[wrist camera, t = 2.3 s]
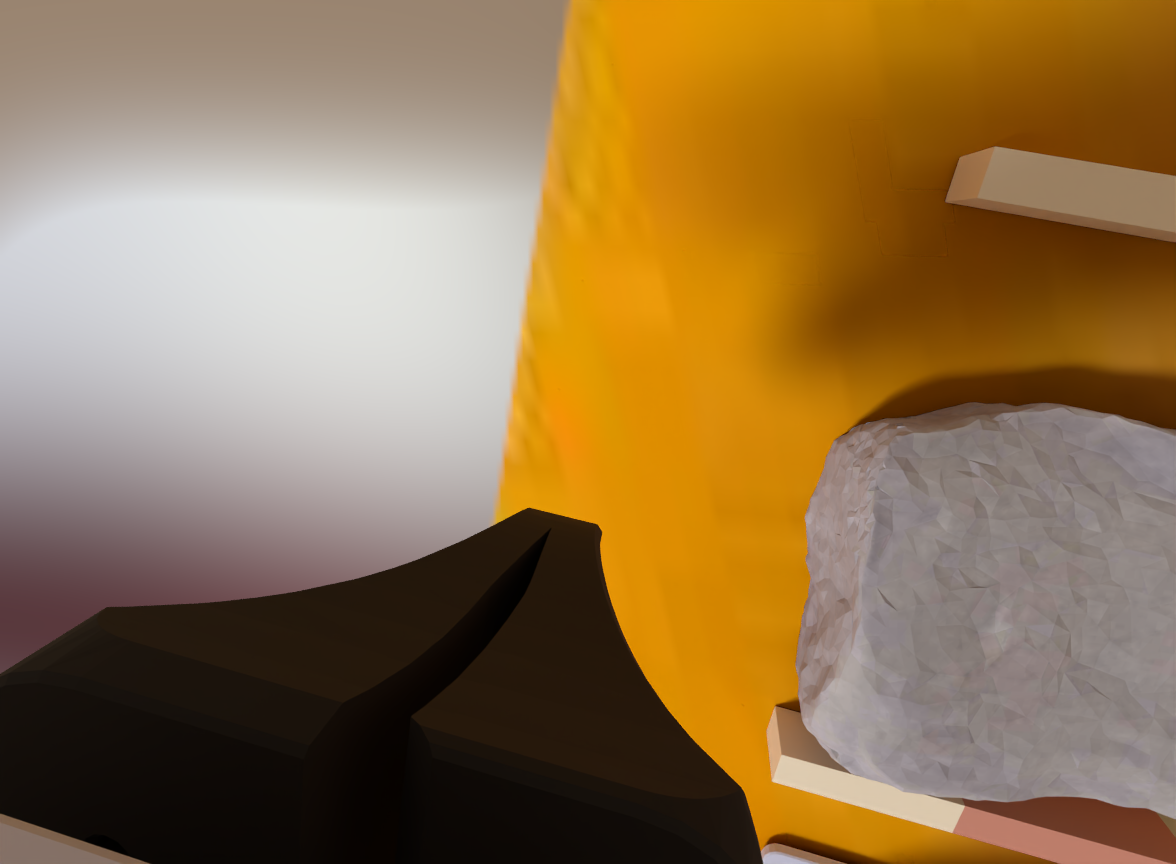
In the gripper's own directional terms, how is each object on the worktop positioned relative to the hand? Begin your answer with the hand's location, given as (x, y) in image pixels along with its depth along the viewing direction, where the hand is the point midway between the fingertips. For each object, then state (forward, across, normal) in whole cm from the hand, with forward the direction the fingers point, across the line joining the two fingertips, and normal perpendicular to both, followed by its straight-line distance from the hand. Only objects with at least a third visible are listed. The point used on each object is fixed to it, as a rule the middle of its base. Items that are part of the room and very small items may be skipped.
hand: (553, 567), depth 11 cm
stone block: (+8, -12, +1) cm, 14 cm away
